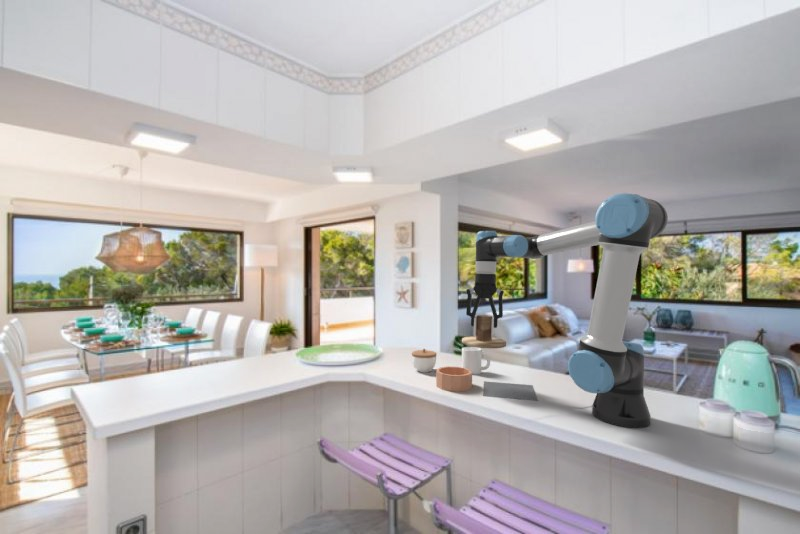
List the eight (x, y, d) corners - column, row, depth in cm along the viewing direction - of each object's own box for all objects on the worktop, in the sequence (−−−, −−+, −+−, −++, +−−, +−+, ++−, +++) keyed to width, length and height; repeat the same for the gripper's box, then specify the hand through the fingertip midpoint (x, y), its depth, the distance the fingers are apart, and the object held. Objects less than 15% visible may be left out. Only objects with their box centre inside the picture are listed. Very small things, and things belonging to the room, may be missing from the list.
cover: (515, 346, 136) (516, 318, 136) (479, 349, 129) (480, 320, 129) (486, 338, 150) (487, 312, 150) (453, 340, 143) (454, 313, 143)
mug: (490, 372, 163) (491, 348, 163) (489, 377, 155) (489, 352, 155) (463, 369, 167) (463, 346, 167) (460, 374, 159) (460, 349, 159)
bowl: (478, 389, 138) (478, 373, 138) (449, 394, 132) (449, 377, 132) (457, 380, 150) (457, 365, 150) (429, 384, 144) (430, 368, 144)
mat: (532, 386, 143) (532, 385, 143) (538, 402, 125) (538, 400, 125) (483, 382, 147) (483, 381, 147) (482, 397, 130) (483, 395, 130)
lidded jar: (406, 370, 164) (406, 348, 165) (423, 366, 172) (423, 345, 172) (424, 375, 156) (424, 352, 157) (441, 371, 164) (441, 349, 164)
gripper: (512, 273, 140) (510, 336, 140) (462, 272, 146) (460, 332, 146) (511, 274, 133) (509, 339, 133) (458, 272, 139) (456, 335, 139)
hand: (483, 335), depth 139 cm, fingers closed on cover, 6 cm apart
